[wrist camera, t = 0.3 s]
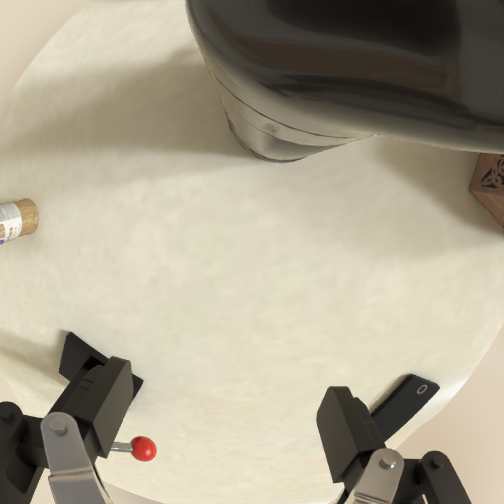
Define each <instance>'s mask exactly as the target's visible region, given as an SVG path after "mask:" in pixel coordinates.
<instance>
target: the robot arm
mask: <svg viewBox="0 0 504 504" xmlns="http://www.w3.org/2000/svg"><path fill="white" fill-rule="evenodd" d="M185 6H186V13H187V17H188V21H189V24H190V28H191V31H192V33H193V36H194V38H195V40H196V43H197V45H198V47H199V49H200V52H201V54H202V56H203V58H204V61H205V63H206V66H207V68H208V70H209V73H210V75H211V77H212V80H213V82H214V84H215V86H216V88H217V91H218V93H219V96H220V98H221V101H222V103H223V105H224V108H225V111H226V115H228V117H227V118H229V120H228V122H229V121H230V124H229V126H230V125H231V128H232V131H233V133H234V135H235V137H236V139H237V140H238V141H239V143H240V144H241V145H242V146H243V147H244V148H245V149H246V150H247V151H249V152H250V153H251V154H253V155H255V156H256V157H258V158H261V159H263V160H267V161H271V162H278V163H286V162H293V161H297V160H300V159H302V158H305V157H307V156H309V155H312V154H315V153H318V152H321V151H324V150H327V149H331V148H334V147H337V146H340V145H344V144H347V143H350V142H353V141H356V140H360V139H363V138H367V137H371V136H374V135H381V136H386V137H390V138H395V139H399V140H404V141H408V142H412V143H417V144H422V145H426V146H432V147H437V148H443V149H449V150H457V151H466V152H478V153H491V154H503V155H504V0H185ZM231 128H230V129H231ZM232 131H231V132H232ZM132 397H133V380H132V371H131V363H130V361H129V360H125V359H121V358H118V357H114V356H112V357H111V358H110V359H109V360H108V362H107V363H106V365H105V366H102V365H97V366H96V367H94V368H92V369H91V370H89V371H88V373H87V374H86V376H85V377H84V378H83V380H82V381H81V383H80V384H79V387H77V389H76V390H75V391H74V393H73V394H72V396H71V397H70V399H69V400H68V402H67V403H66V405H65V406H64V408H63V409H62V411H61V412H53V413H50V414H48V415H46V416H45V417H44V418H38V417H33V416H28V415H23V413H22V411H21V409H20V408H19V406H17V405H16V404H14V403H12V402H1V403H0V504H30V502H31V500H32V497H33V494H34V492H35V489H36V487H37V484H38V482H39V480H40V477H41V475H42V473H43V470H44V468H48V469H50V472H51V476H49V477H48V480H49V485H50V488H51V491H52V494H53V498H54V500H55V503H56V504H113V502H112V500H111V499H110V496H109V494H108V492H107V490H106V488H105V486H104V484H103V482H102V479H101V477H100V475H99V472H98V470H97V468H96V465H95V461H96V459H97V456H100V457H103V458H106V459H107V457H108V454H109V452H110V449H111V447H112V445H113V442H114V440H115V438H116V435H117V433H118V430H119V428H120V426H121V423H122V421H123V419H124V417H125V414H126V412H127V410H128V408H129V405H130V403H131V401H132ZM316 421H317V426H318V430H319V433H320V437H321V440H322V444H323V448H324V451H325V455H326V458H327V462H328V465H329V469H330V473H331V476H332V480H333V483H339V482H344V486H345V487H344V488H343V489H342V491H341V493H340V494H339V496H338V498H337V500H336V501H335V503H334V504H425V502H424V499H423V496H422V495H423V494H425V497H426V499H427V502H428V504H471V501H470V499H469V497H468V495H467V493H466V491H465V489H464V487H463V485H462V483H461V481H460V479H459V477H458V476H457V473H456V472H455V470H454V468H453V466H452V464H451V462H450V460H449V459H448V458H447V456H446V455H445V454H443V453H442V452H439V451H430V452H428V453H426V454H425V455H424V456H423V457H422V458H421V459H404V458H402V456H401V455H400V454H399V453H398V452H397V451H395V450H393V449H389V448H387V447H386V446H385V443H384V441H383V439H382V437H381V435H380V433H379V431H378V429H377V427H376V425H375V423H373V419H372V417H371V416H370V413H369V411H368V409H367V407H366V405H365V404H364V403H363V402H362V401H361V400H360V399H359V398H358V397H355V398H353V396H352V394H351V392H350V390H349V388H348V387H347V386H330V387H329V388H328V389H327V391H326V394H325V396H324V398H323V400H322V403H321V405H320V407H319V409H318V412H317V418H316Z"/></svg>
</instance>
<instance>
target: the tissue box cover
mask: <svg viewBox="0 0 504 504" xmlns="http://www.w3.org/2000/svg"><path fill="white" fill-rule="evenodd" d="M469 191H470V192H471V193H472V194H473V195H474V196H475V197H476V198H477V199H478V200H479V201H480V202H481V203H482V204H483V205H484V206H485V207H486V208H487V209H488V210H489V211H490V212H491V213H492V215H493V216H494V217H495V218H496V219H497V220H498V221H499V222H500V224H501V225H502V226H503V227H504V155H503V154H491V153H480V155H479V158H478V162H477V165H476V169H475V172H474V175H473V178H472V182H471V185H470V188H469Z"/></svg>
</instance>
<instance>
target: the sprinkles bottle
mask: <svg viewBox="0 0 504 504" xmlns="http://www.w3.org/2000/svg"><path fill="white" fill-rule="evenodd" d="M37 225H38V211H37V208H36V206H35V204H34V203H33V202H32V201H31V200H29V199H24V200H22V201H19V202H14V203H6V204H2V205H0V244H3V243H5V242H8V241H11V240H14V239H16V238H18V237H20V236H23V235H26V234H31V233H33V232H34V231H35V229H36V228H37Z"/></svg>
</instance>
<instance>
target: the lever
mask: <svg viewBox="0 0 504 504" xmlns="http://www.w3.org/2000/svg"><path fill="white" fill-rule="evenodd" d="M110 451H118V452H130V453H131V454H132V456H133V457H134V458H136V459H138V460H140V461H150V460H152V459H153V458H154V457H155V456H156V453H157V449H156V445H155V444H154V442H153V441H152V440H151V439H149V438H147V437H143V436H138V437H135V438H133V439H132V440H131V442H130V443H119V442H113V445H112V447H111V449H110Z"/></svg>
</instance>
